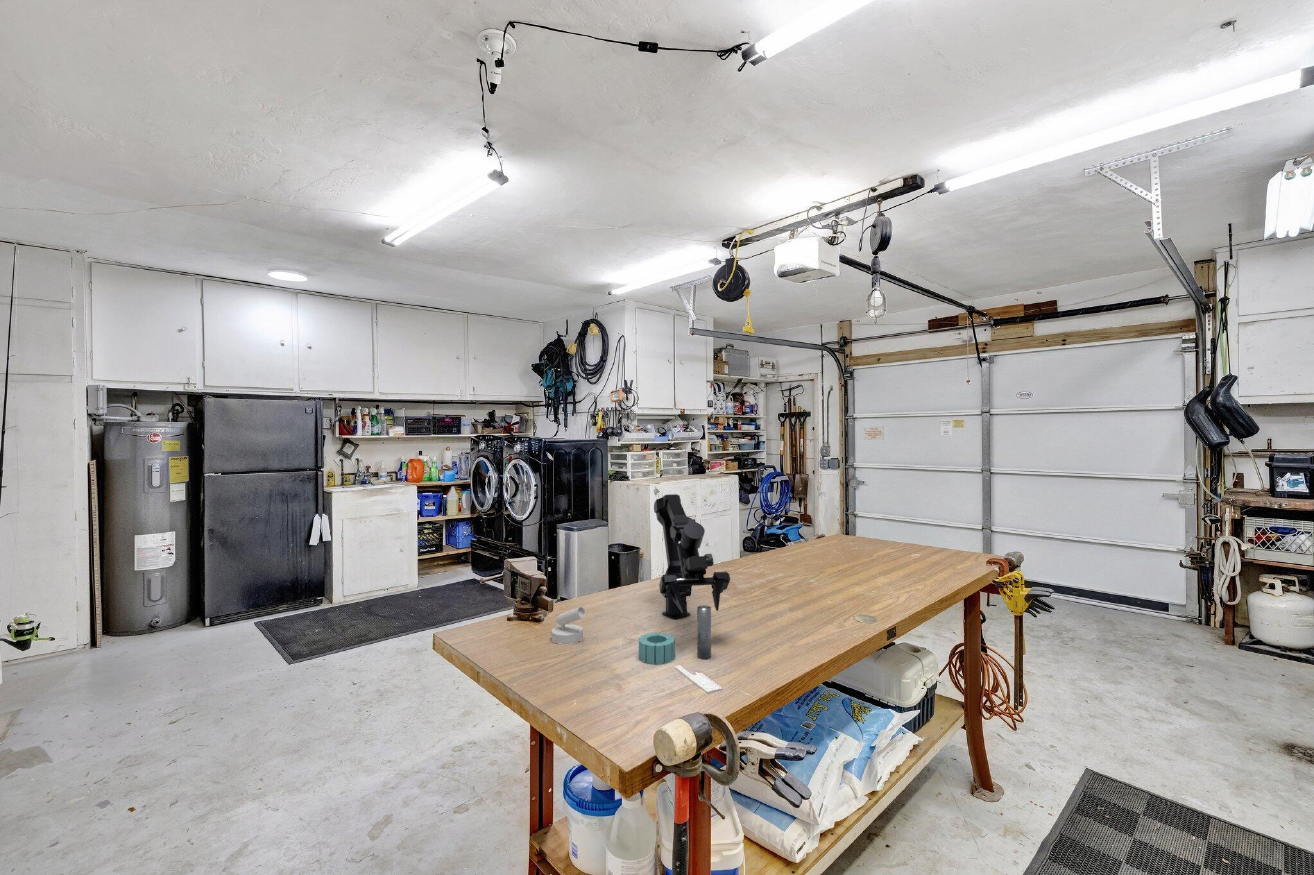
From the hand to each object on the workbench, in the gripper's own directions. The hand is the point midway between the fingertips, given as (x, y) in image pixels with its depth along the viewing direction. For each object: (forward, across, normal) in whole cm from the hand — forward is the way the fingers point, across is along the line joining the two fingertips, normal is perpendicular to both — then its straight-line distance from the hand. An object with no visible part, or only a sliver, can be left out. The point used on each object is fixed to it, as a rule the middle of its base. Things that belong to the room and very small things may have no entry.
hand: (700, 611), depth 144 cm
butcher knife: (+19, -4, -3) cm, 19 cm away
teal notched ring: (+8, -12, +6) cm, 16 cm away
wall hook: (-4, -33, +19) cm, 38 cm away
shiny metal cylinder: (+10, 0, +5) cm, 11 cm away
